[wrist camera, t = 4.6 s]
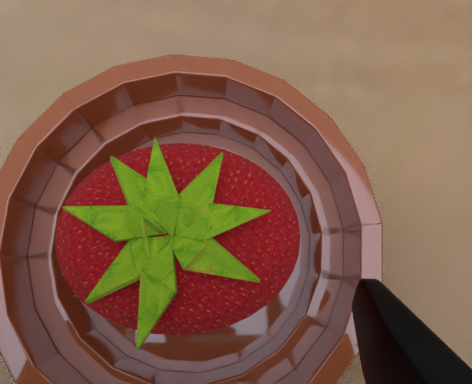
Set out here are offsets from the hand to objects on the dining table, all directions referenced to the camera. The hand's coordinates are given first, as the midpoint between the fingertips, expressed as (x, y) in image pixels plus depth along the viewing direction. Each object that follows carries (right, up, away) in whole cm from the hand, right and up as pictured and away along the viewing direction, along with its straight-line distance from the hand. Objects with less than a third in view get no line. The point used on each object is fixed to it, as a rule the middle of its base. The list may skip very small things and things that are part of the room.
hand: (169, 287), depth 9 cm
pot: (0, 0, +9) cm, 9 cm away
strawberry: (0, 0, +9) cm, 9 cm away
